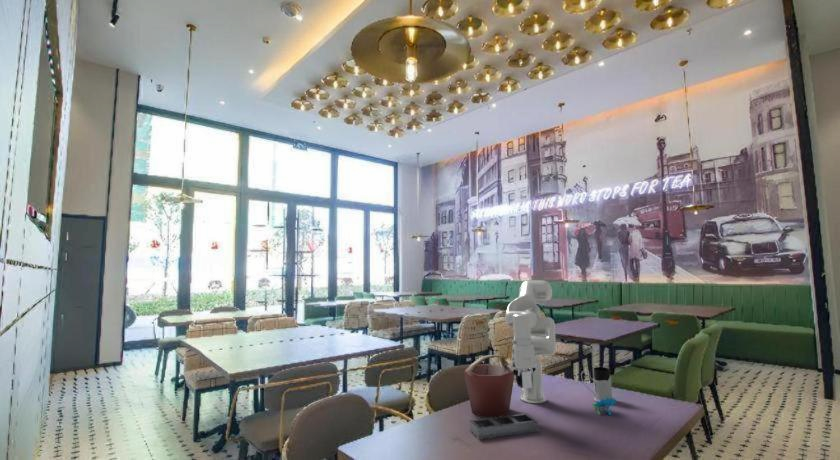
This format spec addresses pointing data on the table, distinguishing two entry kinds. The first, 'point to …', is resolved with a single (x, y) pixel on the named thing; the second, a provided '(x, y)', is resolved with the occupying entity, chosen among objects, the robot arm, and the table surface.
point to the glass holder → (601, 383)
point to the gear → (604, 404)
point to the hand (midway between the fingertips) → (524, 383)
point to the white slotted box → (525, 379)
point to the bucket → (489, 387)
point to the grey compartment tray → (503, 425)
